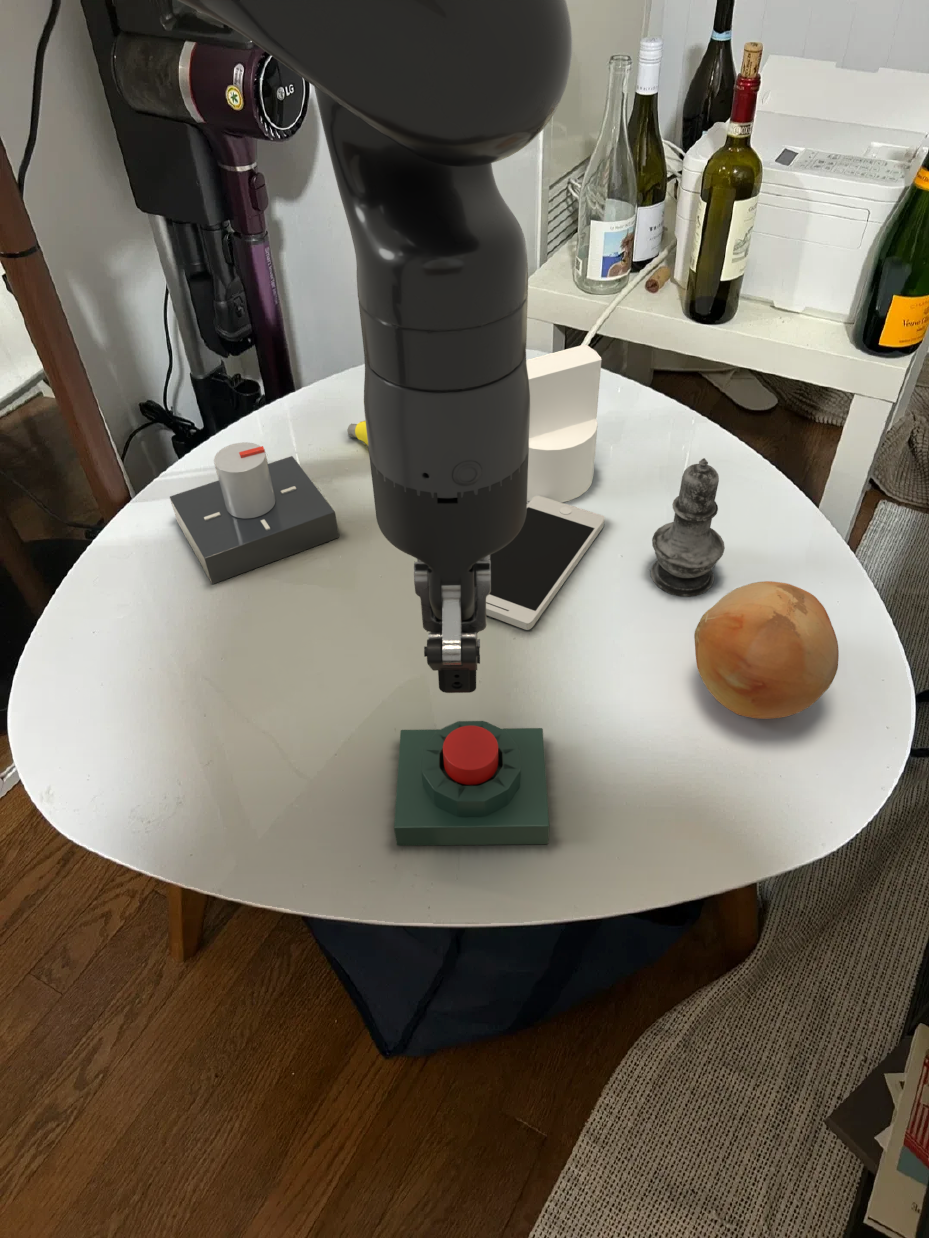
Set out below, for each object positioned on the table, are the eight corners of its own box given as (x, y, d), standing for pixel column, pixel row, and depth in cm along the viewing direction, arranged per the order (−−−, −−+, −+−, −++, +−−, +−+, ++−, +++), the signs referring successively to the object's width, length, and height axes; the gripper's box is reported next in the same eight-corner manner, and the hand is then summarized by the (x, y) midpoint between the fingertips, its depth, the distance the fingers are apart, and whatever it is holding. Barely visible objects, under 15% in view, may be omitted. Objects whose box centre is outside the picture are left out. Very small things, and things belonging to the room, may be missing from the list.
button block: (396, 846, 61) (391, 812, 58) (402, 748, 66) (398, 713, 64) (548, 844, 61) (550, 810, 58) (541, 746, 66) (543, 711, 63)
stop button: (443, 785, 60) (442, 770, 58) (444, 741, 62) (443, 725, 61) (498, 785, 60) (498, 769, 58) (497, 740, 62) (497, 724, 61)
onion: (687, 638, 73) (707, 542, 66) (817, 656, 72) (852, 559, 65) (680, 733, 67) (702, 638, 60) (823, 755, 65) (863, 660, 58)
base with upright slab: (564, 439, 93) (570, 329, 85) (610, 487, 87) (622, 374, 79) (484, 463, 91) (482, 352, 82) (526, 514, 85) (528, 400, 76)
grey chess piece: (643, 593, 77) (661, 476, 69) (650, 548, 81) (668, 432, 73) (715, 603, 76) (742, 486, 68) (719, 557, 80) (745, 441, 72)
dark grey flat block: (212, 584, 79) (203, 557, 77) (177, 522, 86) (168, 494, 83) (339, 537, 83) (335, 510, 81) (297, 481, 90) (292, 454, 87)
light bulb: (393, 458, 92) (375, 432, 89) (349, 454, 95) (331, 430, 93) (408, 432, 93) (392, 407, 90) (365, 430, 97) (348, 405, 94)
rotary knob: (232, 524, 80) (219, 474, 77) (221, 496, 83) (207, 447, 79) (281, 510, 81) (271, 460, 78) (268, 483, 84) (257, 434, 81)
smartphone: (605, 523, 84) (606, 515, 83) (529, 631, 74) (529, 623, 73) (535, 501, 86) (535, 493, 85) (452, 603, 77) (452, 595, 76)
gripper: (378, 367, 48) (401, 607, 60) (355, 529, 38) (388, 775, 51) (523, 365, 48) (517, 606, 60) (535, 528, 38) (524, 774, 50)
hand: (457, 683), depth 55 cm, fingers closed
